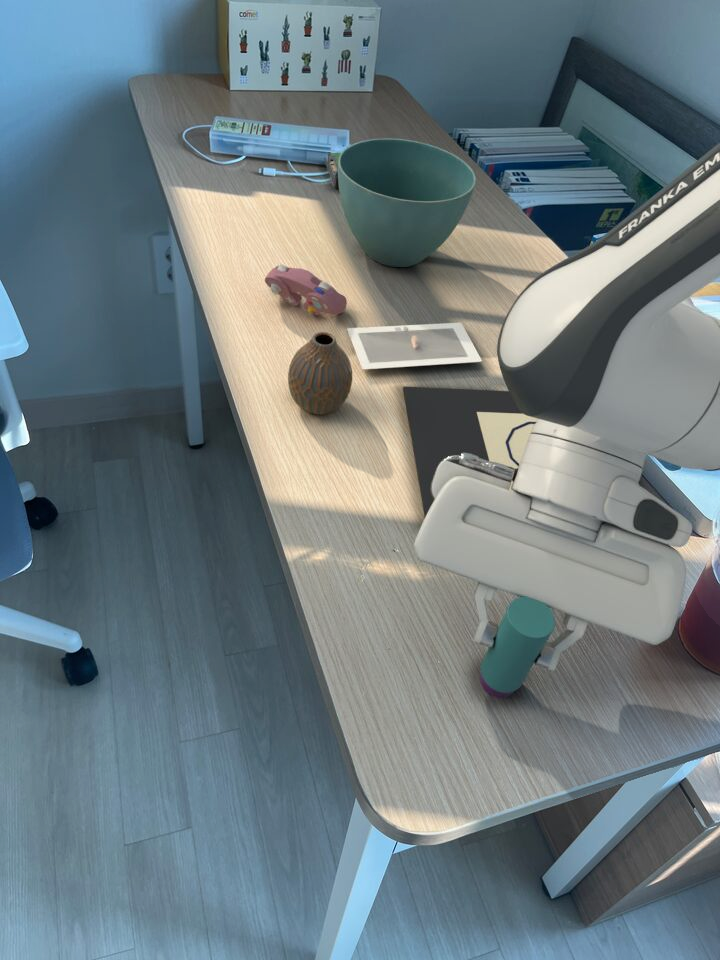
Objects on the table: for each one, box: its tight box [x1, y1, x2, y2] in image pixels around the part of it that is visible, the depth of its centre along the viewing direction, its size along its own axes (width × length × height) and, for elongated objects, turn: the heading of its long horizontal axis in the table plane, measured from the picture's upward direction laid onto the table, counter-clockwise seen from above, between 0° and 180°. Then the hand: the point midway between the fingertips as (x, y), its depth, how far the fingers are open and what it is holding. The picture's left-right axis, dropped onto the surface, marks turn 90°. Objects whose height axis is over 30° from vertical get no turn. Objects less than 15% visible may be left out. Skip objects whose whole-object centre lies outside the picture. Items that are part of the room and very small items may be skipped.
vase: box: [287, 331, 353, 415], centre depth 81 cm, size 7×7×9 cm
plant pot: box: [338, 138, 477, 268], centre depth 103 cm, size 18×18×12 cm
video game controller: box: [264, 263, 348, 316], centre depth 94 cm, size 10×5×7 cm, turn 62°
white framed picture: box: [346, 322, 483, 370], centre depth 92 cm, size 8×15×2 cm, turn 104°
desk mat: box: [402, 386, 538, 518], centre depth 82 cm, size 24×20×1 cm
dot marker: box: [479, 596, 556, 699], centre depth 60 cm, size 4×4×10 cm
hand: (512, 655), depth 59 cm, fingers closed on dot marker, 3 cm apart
